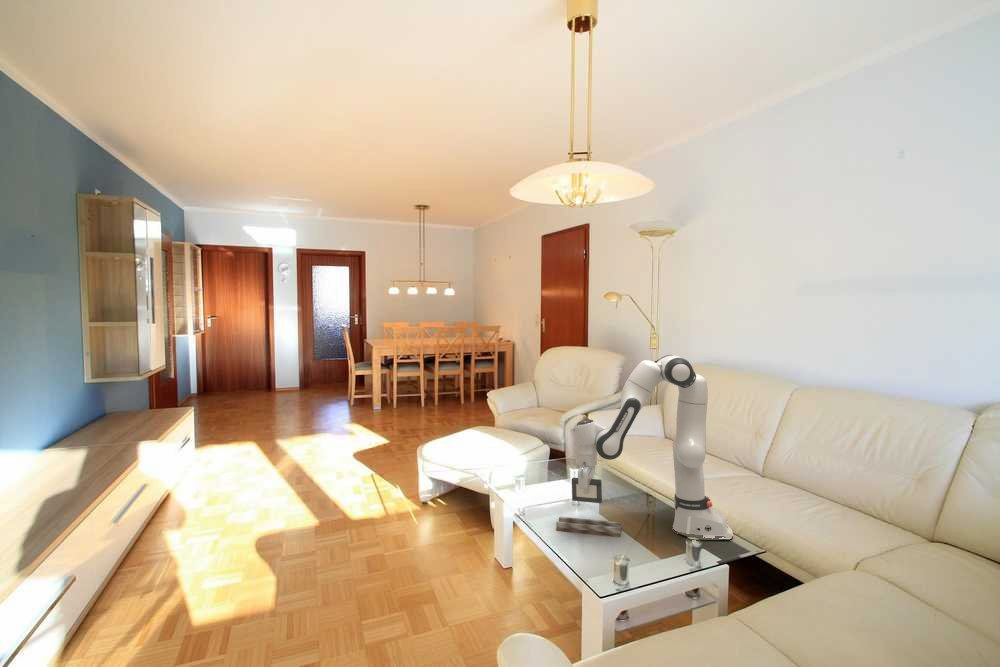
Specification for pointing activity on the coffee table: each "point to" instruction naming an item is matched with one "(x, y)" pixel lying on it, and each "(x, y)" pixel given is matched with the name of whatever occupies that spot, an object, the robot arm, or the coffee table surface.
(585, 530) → the ledge
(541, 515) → the coffee table surface
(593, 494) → the frame
